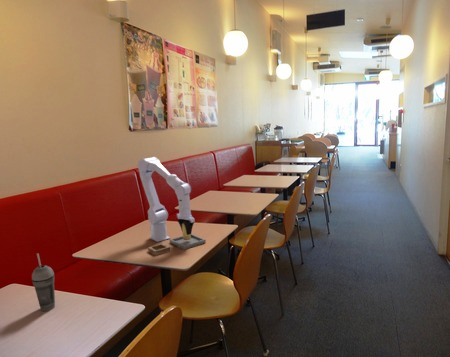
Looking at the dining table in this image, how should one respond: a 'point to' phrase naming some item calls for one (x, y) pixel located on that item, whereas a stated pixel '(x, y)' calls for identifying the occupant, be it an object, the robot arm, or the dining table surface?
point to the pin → (185, 236)
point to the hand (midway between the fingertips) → (186, 233)
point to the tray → (187, 242)
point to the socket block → (155, 248)
